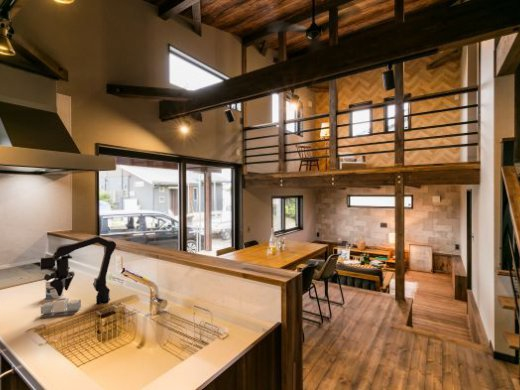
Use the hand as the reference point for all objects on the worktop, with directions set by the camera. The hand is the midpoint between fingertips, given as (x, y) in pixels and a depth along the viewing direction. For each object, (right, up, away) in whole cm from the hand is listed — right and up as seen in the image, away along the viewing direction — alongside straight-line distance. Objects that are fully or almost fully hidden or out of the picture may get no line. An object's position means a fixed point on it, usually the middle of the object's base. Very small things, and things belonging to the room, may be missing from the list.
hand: (63, 292), depth 161 cm
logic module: (0, -9, -1) cm, 9 cm away
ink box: (-22, -11, +22) cm, 33 cm away
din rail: (0, -11, -1) cm, 11 cm away
